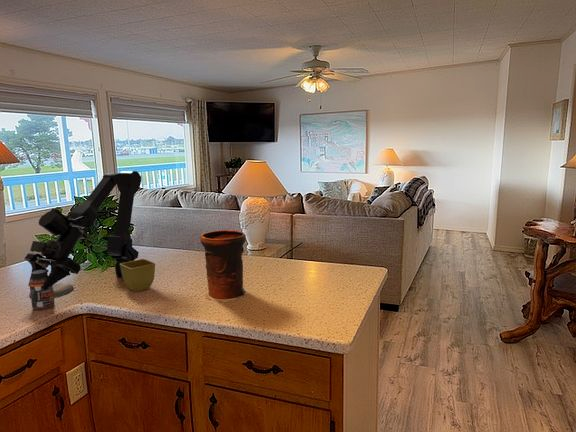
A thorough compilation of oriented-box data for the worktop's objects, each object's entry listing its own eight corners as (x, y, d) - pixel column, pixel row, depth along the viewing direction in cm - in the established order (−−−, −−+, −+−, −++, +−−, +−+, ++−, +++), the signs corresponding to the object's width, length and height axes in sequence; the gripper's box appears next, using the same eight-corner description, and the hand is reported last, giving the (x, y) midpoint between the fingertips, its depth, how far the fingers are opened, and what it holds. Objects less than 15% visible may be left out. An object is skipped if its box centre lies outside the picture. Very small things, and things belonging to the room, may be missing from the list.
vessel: (198, 289, 137) (196, 231, 133) (239, 283, 142) (238, 227, 139) (207, 304, 124) (205, 240, 120) (252, 298, 129) (251, 236, 126)
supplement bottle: (44, 311, 121) (39, 275, 119) (27, 310, 122) (22, 274, 120) (59, 303, 127) (55, 268, 125) (43, 302, 128) (38, 268, 126)
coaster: (74, 282, 146) (74, 280, 146) (72, 294, 134) (72, 292, 134) (32, 288, 141) (31, 286, 140) (26, 301, 129) (26, 299, 129)
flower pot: (146, 282, 145) (144, 258, 143) (157, 288, 139) (155, 262, 137) (121, 289, 139) (119, 263, 137) (132, 295, 133) (130, 268, 131)
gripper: (26, 227, 128) (-6, 271, 120) (67, 231, 120) (36, 279, 112) (52, 246, 136) (24, 288, 128) (92, 251, 129) (65, 296, 121)
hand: (36, 287), depth 122 cm, fingers closed on supplement bottle, 6 cm apart
